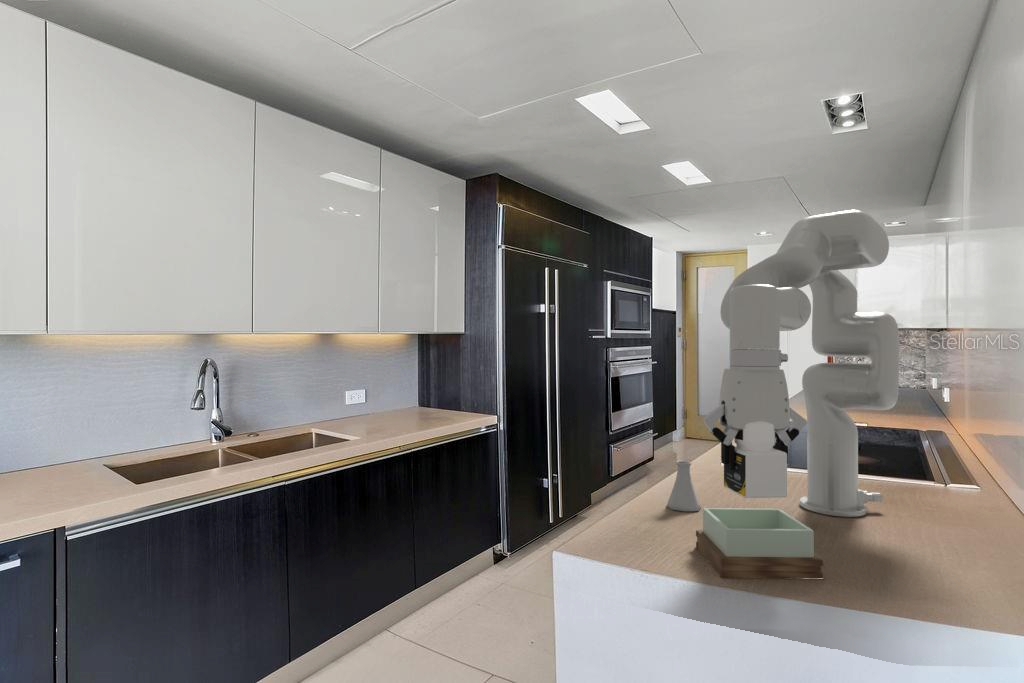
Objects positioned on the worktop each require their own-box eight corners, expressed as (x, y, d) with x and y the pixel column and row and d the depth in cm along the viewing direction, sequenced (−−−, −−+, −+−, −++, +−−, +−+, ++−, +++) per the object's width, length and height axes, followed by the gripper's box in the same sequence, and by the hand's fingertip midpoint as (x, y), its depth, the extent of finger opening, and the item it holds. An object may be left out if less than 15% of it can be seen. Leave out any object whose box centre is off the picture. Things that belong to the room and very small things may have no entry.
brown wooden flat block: (783, 548, 95) (783, 531, 95) (823, 579, 82) (823, 559, 82) (695, 547, 96) (695, 530, 96) (721, 578, 83) (721, 558, 83)
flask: (703, 513, 115) (703, 466, 115) (667, 511, 116) (667, 464, 116) (698, 504, 122) (698, 459, 122) (665, 502, 123) (665, 458, 123)
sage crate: (779, 532, 94) (779, 508, 94) (813, 557, 83) (813, 530, 83) (703, 531, 95) (702, 508, 95) (726, 556, 84) (726, 529, 84)
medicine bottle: (723, 487, 92) (723, 416, 92) (763, 486, 93) (763, 416, 93) (744, 498, 85) (744, 422, 85) (788, 498, 86) (788, 421, 86)
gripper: (796, 360, 93) (796, 464, 92) (693, 359, 93) (693, 463, 93) (820, 361, 85) (820, 474, 85) (708, 360, 86) (708, 473, 85)
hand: (754, 467), depth 89 cm, fingers closed on medicine bottle, 7 cm apart
